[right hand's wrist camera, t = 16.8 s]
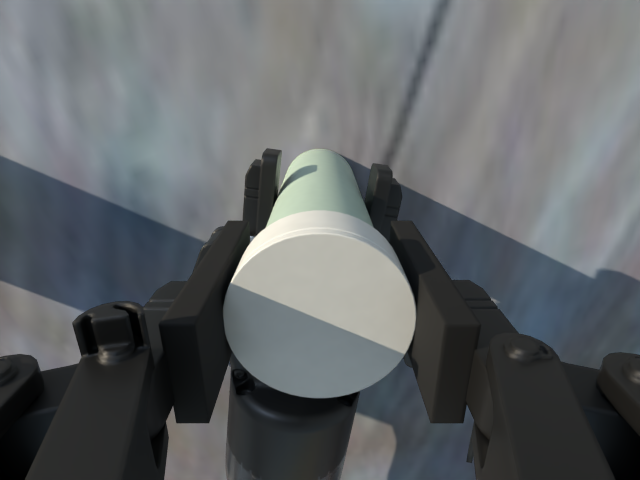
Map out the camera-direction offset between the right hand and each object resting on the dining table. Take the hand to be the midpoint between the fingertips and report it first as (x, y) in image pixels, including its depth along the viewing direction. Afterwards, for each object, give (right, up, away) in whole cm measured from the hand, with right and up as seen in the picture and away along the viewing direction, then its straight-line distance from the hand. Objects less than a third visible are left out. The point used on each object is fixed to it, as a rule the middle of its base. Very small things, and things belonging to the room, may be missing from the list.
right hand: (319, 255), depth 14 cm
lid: (0, -2, -4) cm, 4 cm away
